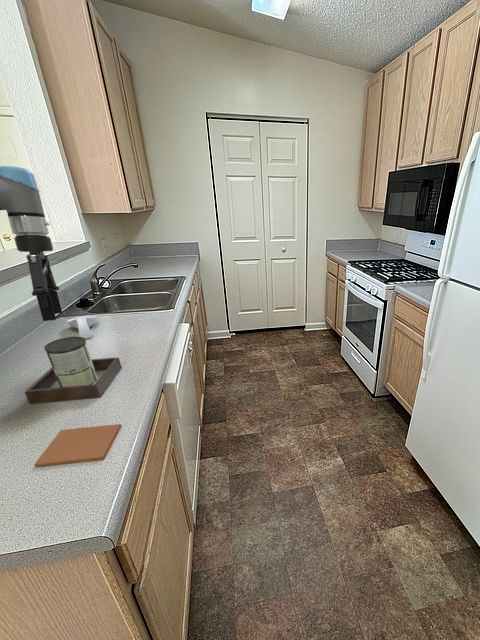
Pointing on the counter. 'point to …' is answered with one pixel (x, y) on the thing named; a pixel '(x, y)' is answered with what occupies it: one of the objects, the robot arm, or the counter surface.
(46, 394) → the rectangular frame
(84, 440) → the cork mat
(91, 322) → the spoon rest
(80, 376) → the coffee can
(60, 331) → the counter surface
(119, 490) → the counter surface
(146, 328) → the counter surface
